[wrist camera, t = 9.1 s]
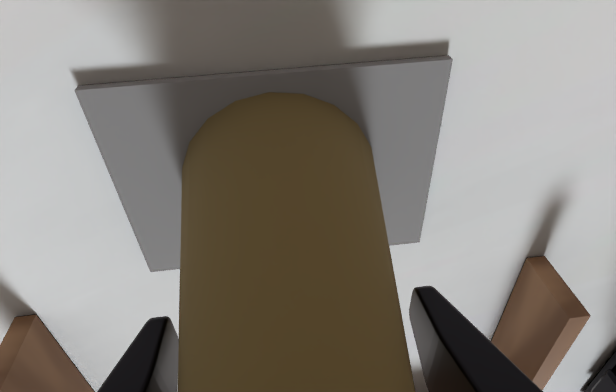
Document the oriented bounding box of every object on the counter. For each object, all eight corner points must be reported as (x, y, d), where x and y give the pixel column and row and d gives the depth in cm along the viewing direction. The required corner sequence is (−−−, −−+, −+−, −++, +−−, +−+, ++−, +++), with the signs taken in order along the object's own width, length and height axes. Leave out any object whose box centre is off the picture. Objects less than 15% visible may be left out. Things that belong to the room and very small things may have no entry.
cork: (343, 259, 15) (457, 750, 7) (176, 241, 14) (43, 828, 5) (403, 113, 12) (802, 731, 3) (190, 71, 11) (-121, 934, 2)
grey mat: (448, 55, 11) (452, 59, 11) (417, 236, 16) (419, 242, 16) (78, 85, 11) (74, 90, 11) (152, 265, 15) (150, 272, 15)
